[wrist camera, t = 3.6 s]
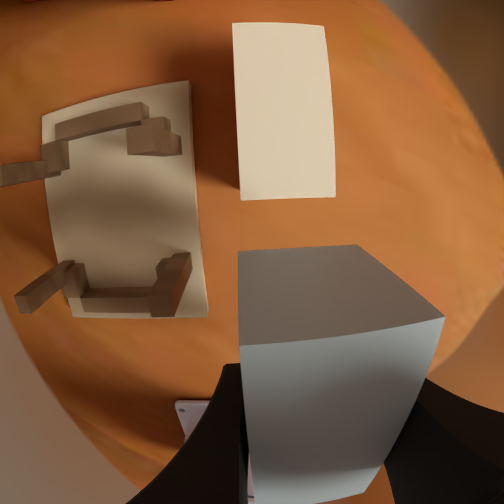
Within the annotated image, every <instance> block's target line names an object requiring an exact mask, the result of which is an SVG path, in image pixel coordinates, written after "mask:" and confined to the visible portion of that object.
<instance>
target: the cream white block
mask: <svg viewBox="0 0 504 504" xmlns="http://www.w3.org/2000/svg"><path fill="white" fill-rule="evenodd" d="M232 31H233V58H234V81H235V102H236V122H237V142H238V161H239V180H240V196H241V201H243V200H261V199H284V198H316V197H335V146H334V125H333V109H332V95H331V84H330V73H329V64H328V55H327V47H326V39H325V32H324V26H318V25H308V24H294V23H265V22H257V23H232Z"/></svg>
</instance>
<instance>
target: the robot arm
mask: <svg viewBox="0 0 504 504" xmlns="http://www.w3.org/2000/svg"><path fill="white" fill-rule="evenodd" d="M175 408H176V411H177V414H178V417H179V420H180V423H181V425H182V428H183V431H184V433H185V441H184V445H183V446H182V447H181V449H180V450H179V451H178V452H177V454H176V455H175V456H174V458H173V459H172V460H171V461H170V462H169V463H168V464H167V466H166V467H165V468H164V469H163V470H162V471H161V472H160V473H159V474H158V475H157V476H156V477H155V478H154V479H153V480H152V481H151V482H150V483H149V484H148V485H147V486H146V487H145V488H144V489H143V490H141V491H140V492H139V493H138V494H137V495H136V496H135V497H133V498H132V499H131V500H130V501H129V502H127V503H126V504H255V498H254V490H253V481H252V473H251V464H250V455H249V446H248V436H247V427H246V417H245V407H244V397H243V386H242V375H241V364H240V363H234V364H226V365H225V366H223V370H222V373H221V376H220V379H219V382H218V384H217V387H216V389H215V391H214V394H213V396H212V398H211V400H208V401H196V400H178V401H176V402H175ZM384 465H385V468H386V471H387V474H388V477H389V481H390V485H391V488H392V493H393V497H394V501H395V504H504V413H502V412H498V411H495V410H491V409H488V408H485V407H483V406H480V405H477V404H475V403H472V402H470V401H468V400H465V399H463V398H461V397H459V396H457V395H454V394H452V393H451V392H449V391H447V390H445V389H443V388H442V387H440V386H438V385H436V384H435V383H433V382H431V381H430V380H428V379H427V378H425V380H424V382H423V385H422V387H421V389H420V392H419V394H418V396H417V399H416V401H415V403H414V405H413V408H412V410H411V412H410V414H409V416H408V418H407V420H406V422H405V424H404V426H403V428H402V430H401V432H400V434H399V436H398V438H397V440H396V441H395V443H394V445H393V447H392V449H391V450H390V452H389V454H388V456H387V457H386V459H385V461H384Z"/></svg>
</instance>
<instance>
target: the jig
mask: <svg viewBox="0 0 504 504" xmlns="http://www.w3.org/2000/svg"><path fill="white" fill-rule="evenodd" d="M40 179H45V189H46V198H47V206H48V213H49V219H50V225H51V231H52V236H53V242H54V247H55V251H56V256H57V260H58V264H57V265H56V266H54V267H53V268H51V269H50V270H49V271H47V272H46V273H44V274H43V275H41V276H40V277H39V278H37V279H36V280H34V281H33V282H32V283H30V284H29V285H28V286H26V287H25V288H24V289H22V290H21V291H19V292H18V293H17V294H16V295H14V297H15V300H16V303H17V306H18V308H19V311H20V313H29V314H32V313H33V312H34V311H35V310H36V309H38V308H39V307H40V306H41V305H42V304H43V303H44V302H45V301H47V300H48V299H49V298H50V297H51V296H52V295H53V294H55V293H56V292H57V291H58V290H59V289H60V288H62V287H63V291H64V294H65V298H68V302H69V305H70V308H71V311H72V314H73V317H86V318H195V317H207V316H208V311H209V308H208V300H207V292H206V283H205V275H204V266H203V257H202V247H201V237H200V226H199V215H198V203H197V191H196V177H195V162H194V145H193V125H192V98H191V84H190V82H189V81H188V80H186V81H179V82H172V83H165V84H159V85H154V86H148V87H143V88H138V89H133V90H128V91H124V92H120V93H116V94H111V95H107V96H104V97H100V98H96V99H93V100H89V101H86V102H82V103H79V104H76V105H73V106H70V107H67V108H64V109H61V110H58V111H55V112H52V113H50V114H47V115H44V116H42V145H41V161H31V162H21V163H11V164H3V165H0V187H4V186H9V185H14V184H19V183H24V182H29V181H34V180H40Z"/></svg>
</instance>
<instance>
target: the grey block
mask: <svg viewBox="0 0 504 504" xmlns="http://www.w3.org/2000/svg"><path fill="white" fill-rule="evenodd" d="M444 321H445V316H444V315H443V314H442V313H441V312H440V311H439V310H437V309H436V308H435V307H434V306H433V305H432V304H430V303H429V302H428V301H427V300H426V299H425V298H423V297H422V296H421V295H420V294H419V293H417V292H416V291H415V290H414V289H413V288H411V287H410V286H409V285H408V284H407V283H405V282H404V281H403V280H402V279H400V278H399V277H398V276H397V275H395V274H394V273H393V272H392V271H390V270H389V269H388V268H387V267H385V266H384V265H383V264H381V263H380V262H379V261H378V260H376V259H375V258H374V257H372V256H371V255H370V254H369V253H367V252H366V251H365V250H363V249H362V248H361V247H359V246H358V245H340V246H322V247H304V248H286V249H268V250H250V251H238V322H239V353H240V364H241V375H242V386H243V397H244V407H245V417H246V427H247V436H248V446H249V455H250V464H251V473H252V481H253V490H254V498H255V504H314V503H320V502H325V501H330V500H335V499H339V498H344V497H348V496H352V495H356V494H359V493H363V492H364V491H365V490H366V488H367V487H368V485H369V484H370V483H371V481H372V479H373V478H374V477H375V475H376V473H377V472H378V470H379V469H380V467H381V466H382V464H383V462H384V461H385V459H386V457H387V456H388V454H389V452H390V450H391V449H392V447H393V445H394V443H395V441H396V440H397V438H398V436H399V434H400V432H401V430H402V428H403V426H404V424H405V422H406V420H407V418H408V416H409V414H410V412H411V410H412V408H413V405H414V403H415V401H416V399H417V396H418V394H419V392H420V389H421V387H422V385H423V382H424V380H425V377H426V375H427V372H428V369H429V367H430V364H431V361H432V358H433V356H434V353H435V350H436V347H437V344H438V341H439V337H440V334H441V331H442V327H443V324H444Z"/></svg>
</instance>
